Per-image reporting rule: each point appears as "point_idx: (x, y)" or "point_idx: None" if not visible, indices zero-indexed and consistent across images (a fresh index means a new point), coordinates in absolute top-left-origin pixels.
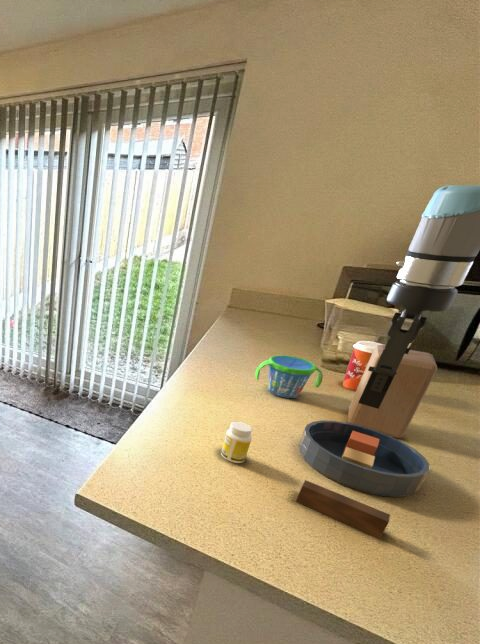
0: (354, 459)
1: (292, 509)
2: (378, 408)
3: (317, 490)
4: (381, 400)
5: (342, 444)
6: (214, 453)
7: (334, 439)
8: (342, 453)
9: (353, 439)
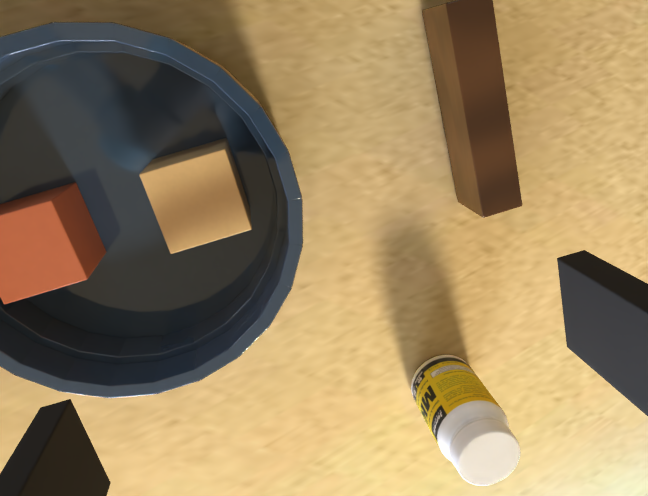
0: (240, 199)
1: (534, 177)
2: (586, 251)
3: (507, 173)
4: (629, 277)
5: None
6: None
7: (38, 312)
8: None
9: (82, 269)
